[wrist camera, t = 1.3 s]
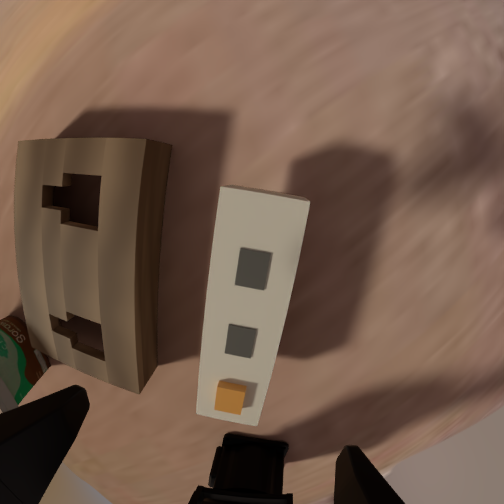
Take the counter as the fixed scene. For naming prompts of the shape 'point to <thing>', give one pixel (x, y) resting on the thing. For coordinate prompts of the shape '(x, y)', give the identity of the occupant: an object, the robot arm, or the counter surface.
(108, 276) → the keyhole board
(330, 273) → the counter surface
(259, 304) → the power strip
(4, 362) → the food container
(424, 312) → the counter surface
